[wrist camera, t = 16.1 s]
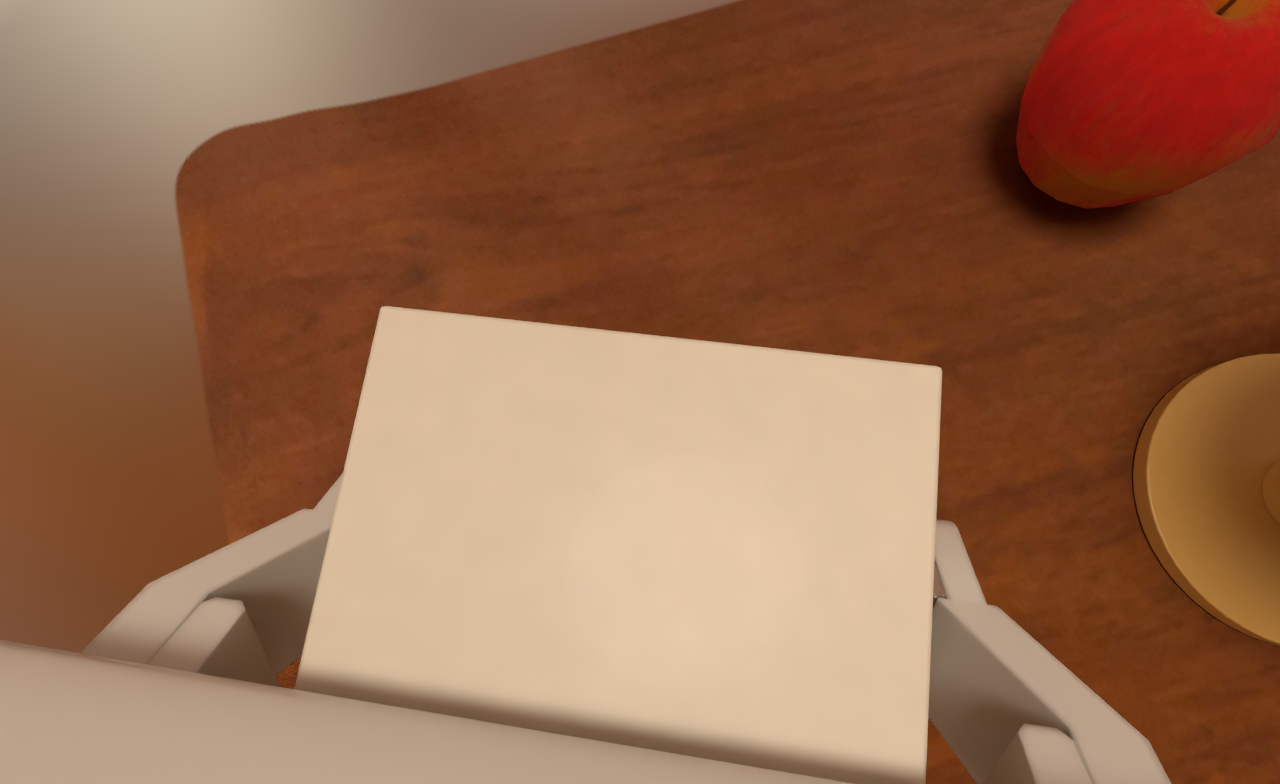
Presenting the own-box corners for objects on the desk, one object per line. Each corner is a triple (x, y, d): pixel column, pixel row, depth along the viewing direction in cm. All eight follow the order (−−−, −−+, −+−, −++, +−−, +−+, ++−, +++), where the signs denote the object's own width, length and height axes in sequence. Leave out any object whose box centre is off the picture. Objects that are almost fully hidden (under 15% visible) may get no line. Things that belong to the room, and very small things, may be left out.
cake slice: (785, 678, 14) (924, 878, 6) (500, 634, 15) (275, 760, 7) (804, 454, 15) (945, 365, 7) (536, 421, 16) (379, 303, 8)
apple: (1178, 240, 32) (1464, 72, 20) (990, 255, 32) (1164, 99, 21) (1136, 77, 34) (1375, -163, 22) (961, 93, 34) (1103, -133, 23)
